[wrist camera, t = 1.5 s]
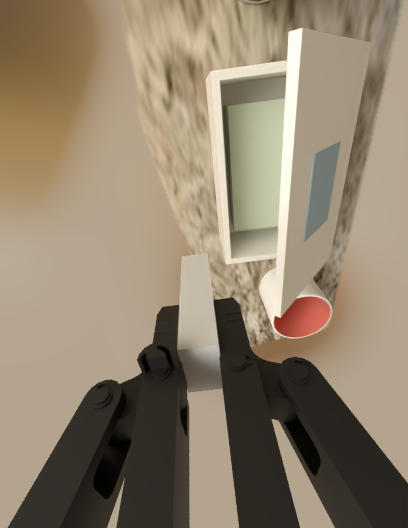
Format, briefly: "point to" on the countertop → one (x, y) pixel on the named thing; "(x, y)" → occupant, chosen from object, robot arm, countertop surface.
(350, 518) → the robot arm
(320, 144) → the lid
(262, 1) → the coffee can
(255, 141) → the box
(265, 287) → the cup
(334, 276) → the countertop surface
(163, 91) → the countertop surface
